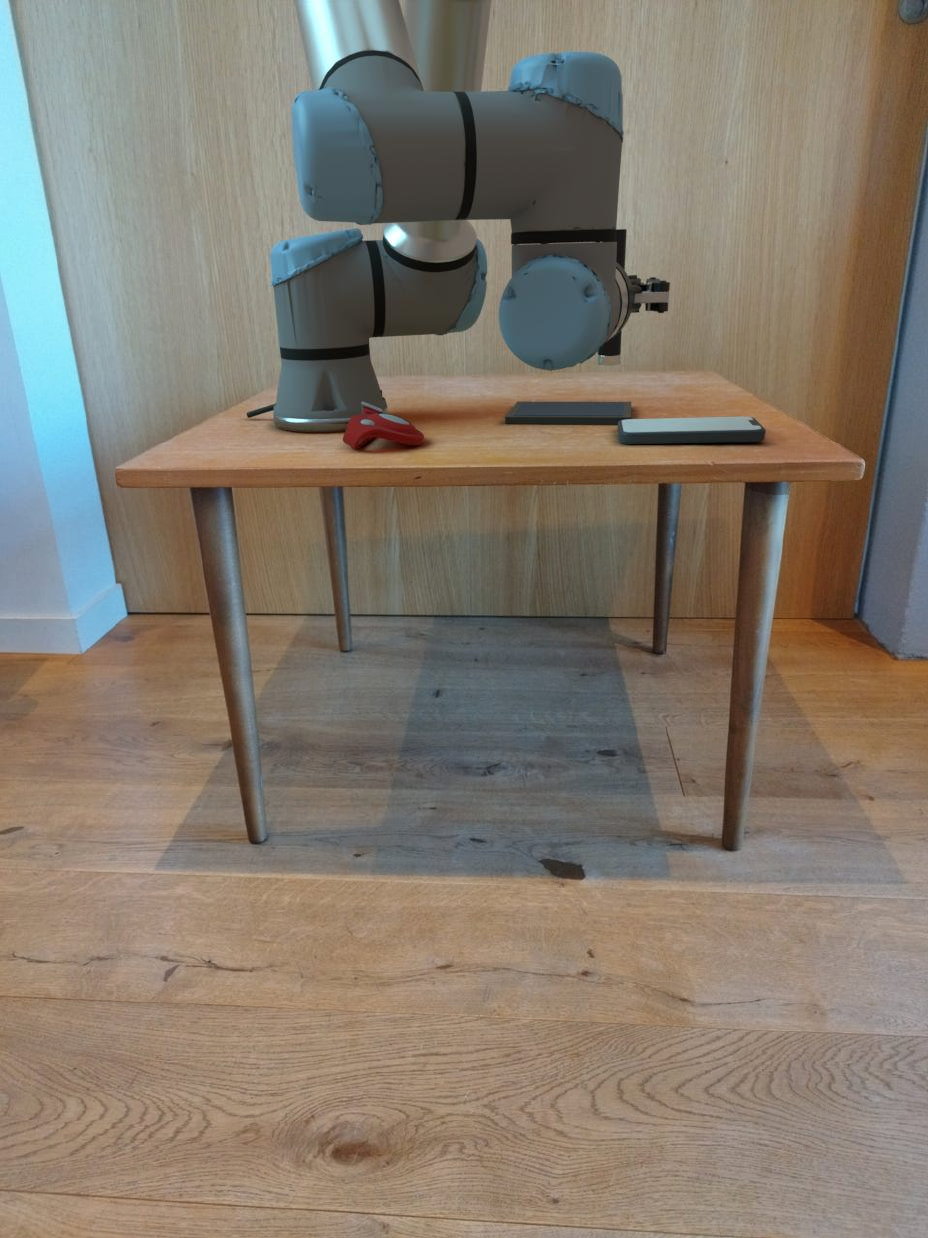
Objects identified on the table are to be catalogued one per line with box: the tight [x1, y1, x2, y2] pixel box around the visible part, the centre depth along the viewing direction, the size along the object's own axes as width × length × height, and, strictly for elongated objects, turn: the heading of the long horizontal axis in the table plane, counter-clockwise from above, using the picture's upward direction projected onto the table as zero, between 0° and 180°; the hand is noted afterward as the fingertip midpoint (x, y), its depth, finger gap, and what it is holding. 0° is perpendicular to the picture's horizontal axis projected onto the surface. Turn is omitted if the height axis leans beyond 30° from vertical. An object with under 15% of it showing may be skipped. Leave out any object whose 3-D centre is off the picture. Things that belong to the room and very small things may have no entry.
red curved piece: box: [342, 402, 425, 450], centre depth 97 cm, size 12×4×10 cm
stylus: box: [596, 228, 628, 366], centre depth 85 cm, size 2×2×13 cm
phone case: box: [617, 416, 767, 445], centre depth 95 cm, size 9×2×16 cm
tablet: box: [504, 400, 632, 426], centre depth 110 cm, size 16×12×1 cm
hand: (618, 288), depth 89 cm, fingers closed on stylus, 2 cm apart
